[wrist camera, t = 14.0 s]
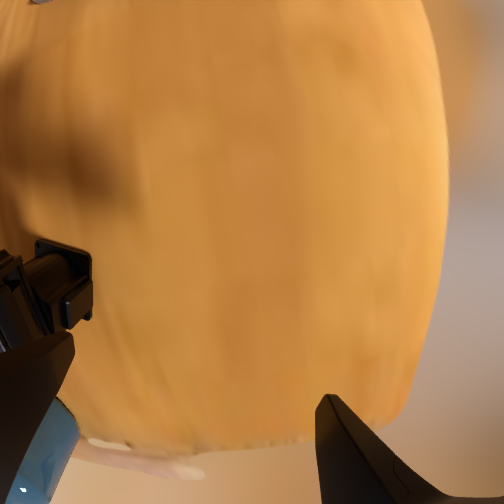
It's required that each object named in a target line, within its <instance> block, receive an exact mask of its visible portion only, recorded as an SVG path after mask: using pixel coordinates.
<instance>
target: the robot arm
mask: <svg viewBox="0 0 504 504" xmlns="http://www.w3.org/2000/svg"><path fill="white" fill-rule="evenodd" d="M39 244H40V245H39ZM85 258H86V259H87V261H85ZM22 262H23V260H22V257H21V255H18V256H13V255H12V256H11V255H9V253H8V252H7V251H6V250H5V249H3V250H0V504H5V502H6V500H7V497H8V494H9V492H10V489H11V487H12V484H13V482H14V480H15V477H16V475H17V471H18V470H19V468H20V465H21V463H22V461H23V459H24V457H25V454H26V452H27V450H28V448H29V446H30V444H31V442H32V440H33V438H34V436H35V434H36V432H37V430H38V428H39V426H40V424H41V422H42V420H43V418H44V417H45V415H46V413H47V411H48V409H49V407H50V406H51V404H52V402H53V400H54V398H55V397H56V395H57V393H58V391H59V389H60V387H61V385H62V383H63V381H64V378H65V376H66V374H67V372H68V369H69V367H70V365H71V363H72V361H73V358H74V356H75V346H74V339H73V335H72V334H71V333H69V332H67V331H65V330H66V329H69V330H71V329H72V328H73V327H74V326H75V325H76V324H77V323H78V322H79V321H80V319H84V320H87V321H89V320H90V319H91V318H92V307H93V281H92V258H91V256H90V255H89V254H88V253H84V252H81V251H78V250H74V249H71V248H68V247H65V246H61V245H58V244H55V243H52V242H49V241H45V240H42V239H39V240H37V241H36V242H35V258H33V259H32V260H30V261H28V262H27V263H25V264H22ZM86 314H87V315H88V316H87V315H86ZM315 447H316V457H317V466H318V473H319V482H320V491H321V500H322V504H504V496H501V497H493V498H492V497H491V498H473V497H469V498H468V497H453V496H449V495H446V494H444V493H442V492H441V491H439V490H438V489H437V488H435V487H434V486H432V485H431V484H429V483H428V482H427V481H426V480H424V479H423V478H422V477H421V476H419V475H418V474H417V473H416V472H414V471H413V470H412V469H411V468H410V467H409V466H407V465H406V464H405V463H404V462H403V461H402V460H401V459H400V458H399V457H398V456H397V455H395V453H394V452H393V451H392V450H391V449H390V448H389V447H387V445H386V444H385V443H384V442H383V441H381V440H380V439H379V438H378V436H376V434H375V433H374V432H373V431H372V430H371V429H370V428H369V427H368V426H367V425H366V424H365V423H364V422H363V421H362V420H361V419H360V418H359V417H358V416H357V415H356V414H355V413H354V412H353V411H352V410H351V409H350V408H349V407H348V406H347V405H346V404H345V403H344V402H343V401H342V400H341V399H340V398H339V396H337V395H335V394H325V395H324V396H323V398H322V400H321V401H320V403H319V405H318V406H317V408H316V411H315Z"/></svg>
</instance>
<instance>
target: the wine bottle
mask: <svg viewBox="0 0 504 504" xmlns="http://www.w3.org/2000/svg"><path fill="white" fill-rule="evenodd" d="M79 438H80V429H79V426H78V424H77V422H76V419H75V418H74V417H73V415H72V414H71V413H70V412H69V411H68V410H67V409H66V408H65V406H64V405H63V404H62V403H61V402H60V401H59V400H57V399H56V398H54V400H53V402H52V404H51V406H50V407H49V409H48V411H47V413H46V415H45V417H44V418H43V420H42V422H41V424H40V426H39V428H38V430H37V432H36V434H35V436H34V438H33V440H32V442H31V444H30V446H29V448H28V450H27V452H26V454H25V457H24V459H23V461H22V463H21V465H20V468H19V470H18V471H17V475H16V477H15V480H14V482H13V484H12V487H11V489H10V492H9V494H8V497H7V500H6V502H5V504H49V503H50V501H51V499H52V497H53V494H54V492H55V490H56V487H57V485H58V483H59V480H60V478H61V476H62V474H63V472H64V469H65V467H66V465H67V463H68V461H69V459H70V456H71V454H72V452H73V450H74V448H75V446H76V444H77V442H78V440H79Z"/></svg>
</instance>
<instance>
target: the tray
mask: <svg viewBox="0 0 504 504" xmlns="http://www.w3.org/2000/svg"><path fill="white" fill-rule="evenodd" d="M32 1H34V2H36V3H38V4H42V3H45V2H48V1H52V0H32Z"/></svg>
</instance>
